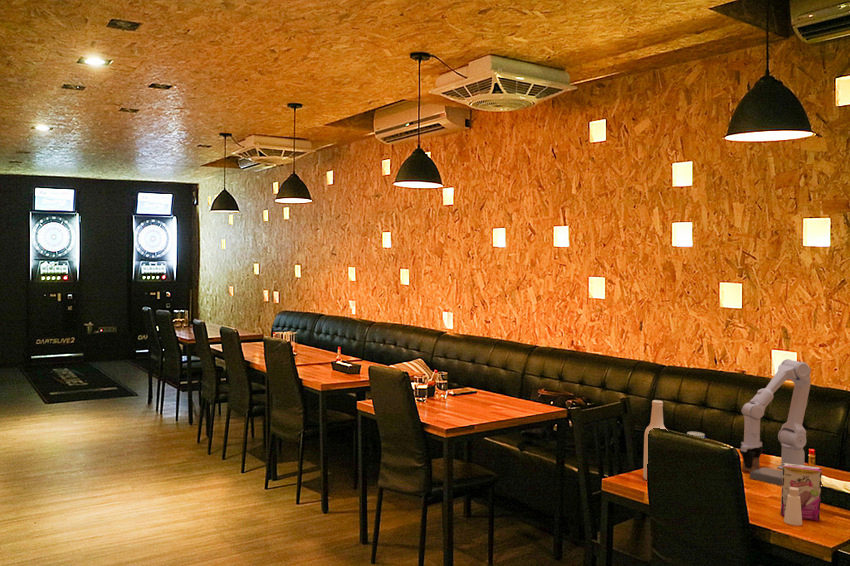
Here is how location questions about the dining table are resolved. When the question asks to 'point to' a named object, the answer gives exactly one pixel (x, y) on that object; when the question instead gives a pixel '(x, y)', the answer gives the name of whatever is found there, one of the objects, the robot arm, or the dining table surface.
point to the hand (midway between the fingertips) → (751, 466)
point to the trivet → (767, 475)
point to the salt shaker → (793, 508)
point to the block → (754, 465)
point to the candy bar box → (802, 488)
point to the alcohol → (654, 423)
